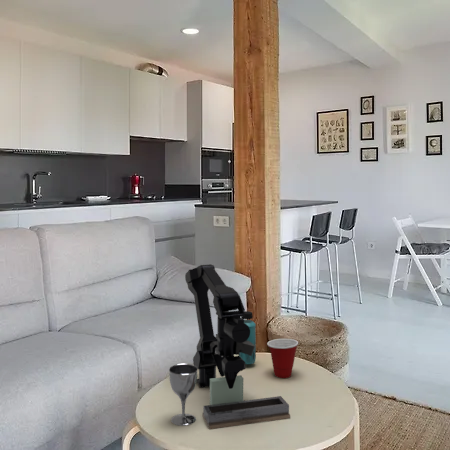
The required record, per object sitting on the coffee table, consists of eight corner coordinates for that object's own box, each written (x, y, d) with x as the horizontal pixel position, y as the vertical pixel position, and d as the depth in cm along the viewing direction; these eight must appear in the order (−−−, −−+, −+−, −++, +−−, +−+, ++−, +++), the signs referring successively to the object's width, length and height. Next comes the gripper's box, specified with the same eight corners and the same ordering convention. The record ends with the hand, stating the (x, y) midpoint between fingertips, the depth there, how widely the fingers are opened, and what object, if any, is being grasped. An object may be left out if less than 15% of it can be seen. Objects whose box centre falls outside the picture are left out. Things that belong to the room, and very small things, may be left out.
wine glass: (186, 429, 139) (186, 376, 137) (163, 421, 143) (163, 370, 142) (202, 417, 146) (202, 367, 144) (180, 410, 150) (180, 361, 148)
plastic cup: (276, 366, 184) (276, 334, 183) (303, 373, 178) (303, 340, 177) (260, 376, 176) (261, 342, 174) (288, 383, 169) (288, 349, 168)
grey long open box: (202, 415, 146) (202, 404, 146) (279, 405, 153) (279, 394, 153) (209, 429, 139) (209, 417, 138) (290, 418, 145) (290, 406, 145)
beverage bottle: (254, 369, 182) (255, 315, 180) (236, 367, 183) (236, 313, 181) (257, 362, 188) (257, 310, 186) (239, 361, 190) (239, 309, 188)
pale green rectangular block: (209, 403, 154) (209, 378, 154) (240, 399, 157) (241, 375, 156) (211, 407, 152) (211, 381, 151) (243, 403, 155) (243, 378, 154)
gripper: (262, 340, 146) (261, 391, 147) (242, 321, 164) (242, 368, 165) (225, 343, 143) (225, 396, 144) (209, 324, 161) (209, 371, 162)
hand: (226, 382), depth 154 cm, fingers open, 9 cm apart
